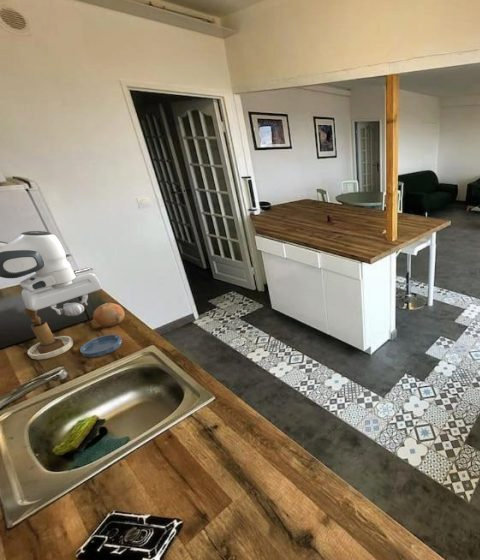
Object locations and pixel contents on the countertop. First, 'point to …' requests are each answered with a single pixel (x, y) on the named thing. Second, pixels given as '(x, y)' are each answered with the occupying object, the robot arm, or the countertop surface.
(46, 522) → the countertop surface
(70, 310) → the garlic
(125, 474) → the countertop surface
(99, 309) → the onion
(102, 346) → the slate saucer
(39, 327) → the mortar and pestle
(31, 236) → the robot arm
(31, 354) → the cream saucer
